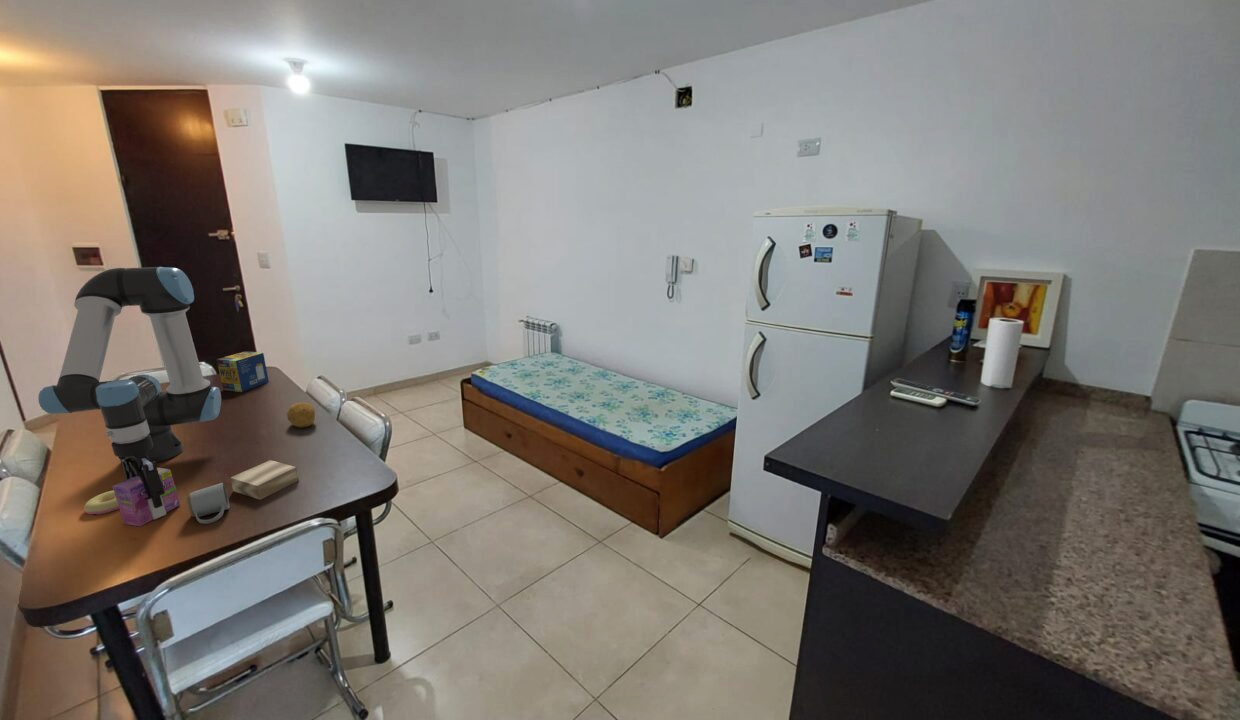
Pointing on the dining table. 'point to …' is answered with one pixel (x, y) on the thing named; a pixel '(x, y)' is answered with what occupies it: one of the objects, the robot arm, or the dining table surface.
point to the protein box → (242, 371)
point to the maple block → (264, 479)
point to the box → (143, 498)
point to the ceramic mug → (208, 502)
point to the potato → (301, 414)
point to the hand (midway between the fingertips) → (152, 513)
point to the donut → (102, 503)
